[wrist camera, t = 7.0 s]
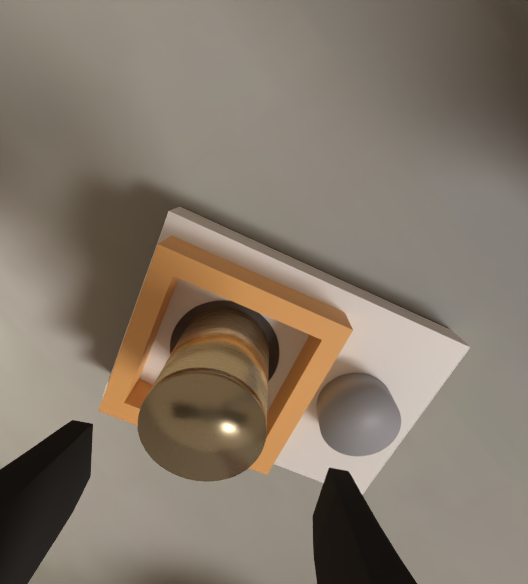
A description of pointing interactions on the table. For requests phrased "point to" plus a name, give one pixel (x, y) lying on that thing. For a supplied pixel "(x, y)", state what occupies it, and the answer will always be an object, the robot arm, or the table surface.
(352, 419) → the white fixture board
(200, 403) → the bead tin
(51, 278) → the table surface
